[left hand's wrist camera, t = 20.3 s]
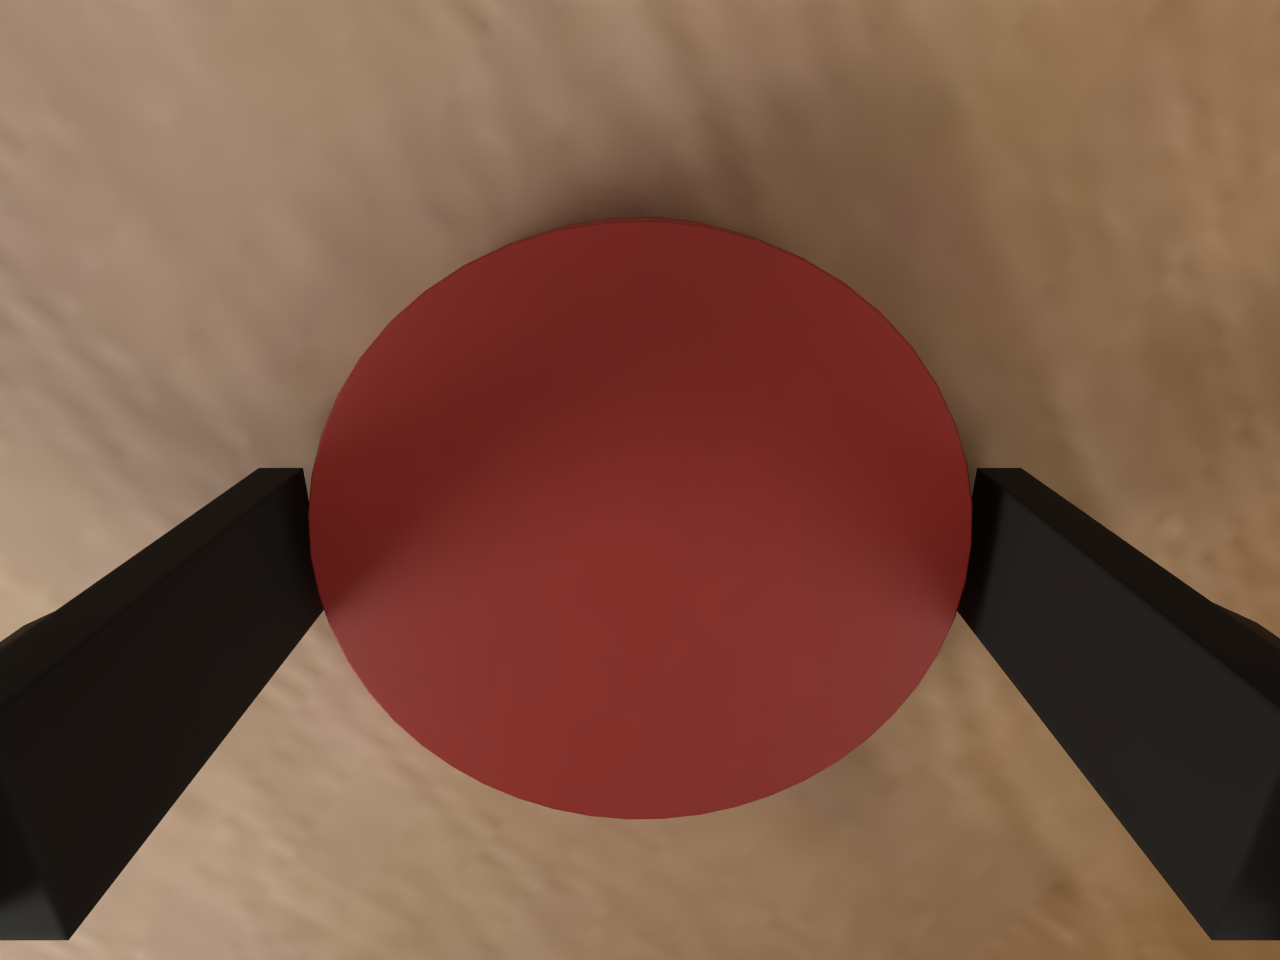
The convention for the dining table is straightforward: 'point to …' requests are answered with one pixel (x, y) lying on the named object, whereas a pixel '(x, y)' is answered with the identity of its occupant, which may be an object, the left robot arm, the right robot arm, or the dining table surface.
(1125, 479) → the dining table surface
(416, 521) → the lid
